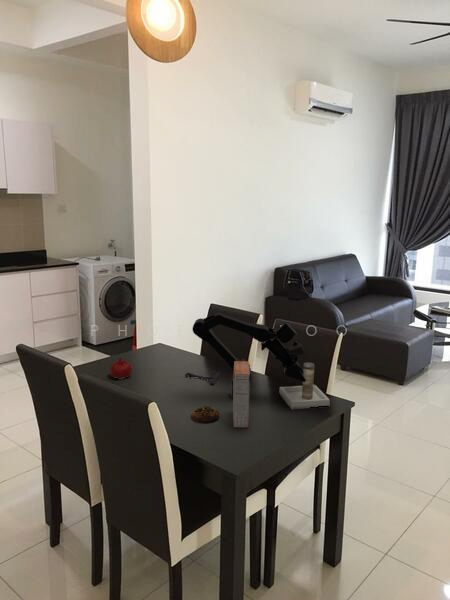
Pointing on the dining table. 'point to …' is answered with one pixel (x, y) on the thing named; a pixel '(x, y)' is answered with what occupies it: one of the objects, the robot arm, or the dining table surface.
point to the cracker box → (241, 394)
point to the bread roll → (205, 414)
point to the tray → (296, 401)
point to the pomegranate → (120, 369)
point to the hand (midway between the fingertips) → (304, 377)
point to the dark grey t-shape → (206, 377)
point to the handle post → (308, 381)
